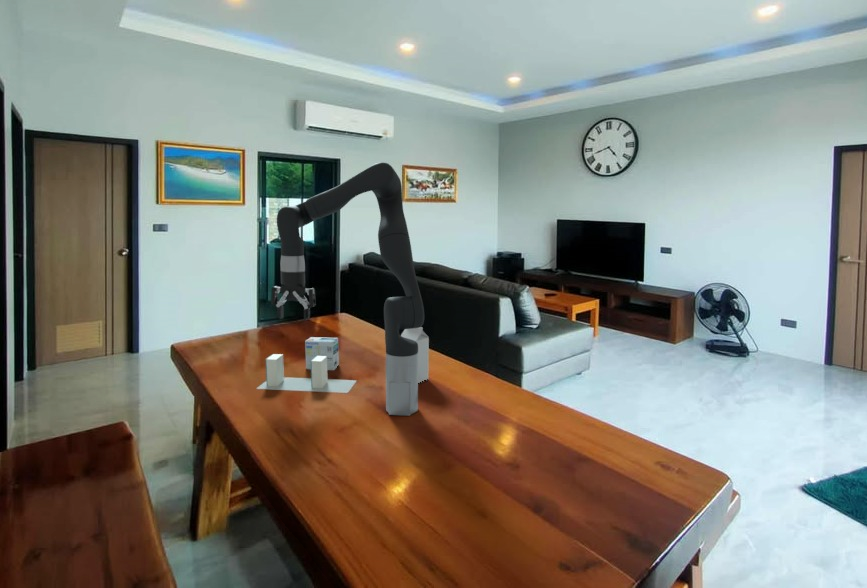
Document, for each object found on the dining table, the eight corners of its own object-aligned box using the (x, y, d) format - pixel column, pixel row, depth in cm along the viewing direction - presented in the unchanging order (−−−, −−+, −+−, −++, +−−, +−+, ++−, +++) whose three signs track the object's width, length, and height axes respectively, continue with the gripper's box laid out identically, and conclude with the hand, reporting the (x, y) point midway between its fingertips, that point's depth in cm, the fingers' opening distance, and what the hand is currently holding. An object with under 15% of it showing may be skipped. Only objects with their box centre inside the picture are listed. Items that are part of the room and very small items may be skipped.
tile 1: (277, 386, 168) (275, 359, 166) (266, 385, 168) (265, 359, 166) (284, 380, 173) (283, 354, 172) (274, 379, 174) (272, 354, 172)
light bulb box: (339, 365, 191) (338, 337, 189) (334, 371, 185) (333, 341, 183) (311, 364, 192) (310, 336, 190) (305, 369, 186) (304, 340, 184)
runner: (347, 393, 162) (347, 392, 162) (256, 389, 165) (256, 388, 165) (357, 380, 174) (356, 380, 174) (271, 377, 177) (271, 376, 177)
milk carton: (415, 385, 170) (415, 329, 167) (399, 381, 175) (399, 326, 172) (428, 379, 176) (429, 325, 173) (412, 375, 180) (412, 322, 177)
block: (322, 388, 166) (321, 361, 165) (311, 387, 166) (310, 360, 165) (327, 382, 172) (326, 356, 171) (317, 381, 172) (316, 355, 171)
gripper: (266, 269, 162) (267, 320, 165) (309, 271, 160) (310, 322, 163) (276, 267, 169) (278, 315, 172) (318, 269, 167) (319, 317, 170)
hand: (293, 318), depth 168 cm, fingers open, 8 cm apart
